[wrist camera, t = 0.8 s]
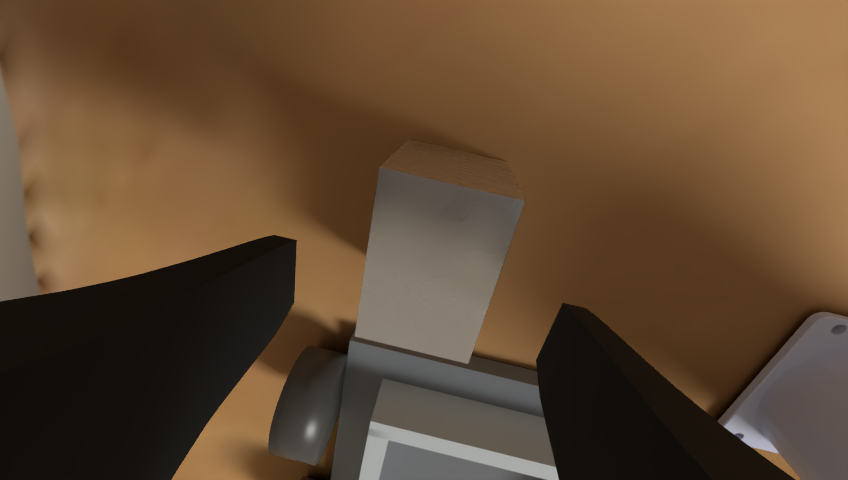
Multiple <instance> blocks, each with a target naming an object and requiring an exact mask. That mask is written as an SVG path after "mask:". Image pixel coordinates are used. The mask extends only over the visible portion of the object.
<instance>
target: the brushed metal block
mask: <svg viewBox="0 0 848 480" xmlns="http://www.w3.org/2000/svg"><path fill="white" fill-rule="evenodd" d="M524 204H525V199H524V197H523V195H522V193H521V190H520V188H519V186H518V184H517V182H516V180H515V177H514V175H513V173H512V171H511V169H510V167H509V164H508V162H507V161H503V160H499V159H494V158H490V157H485V156H481V155H477V154H472V153H468V152H464V151H459V150H455V149H451V148H446V147H442V146H438V145H433V144H429V143H425V142H420V141H416V140H411V139H408V140H407V141H406V142H405V143H404V144H403V145H402V146H401V147H400V148H399V149H398V150H396V151H395V152H394V153H393V154H392V155H391V156H390V157H389V158H388V159H387V160H386V161H385V162H384V163H383V164H382V165H381V166H380V167H379V172H378V179H377V186H376V193H375V200H374V207H373V214H372V220H371V227H370V234H369V241H368V248H367V255H366V262H365V269H364V276H363V282H362V289H361V296H360V303H359V310H358V317H357V324H356V331H355V337H359V338H364V339H368V340H372V341H376V342H380V343H384V344H388V345H392V346H396V347H400V348H405V349H409V350H413V351H417V352H421V353H425V354H429V355H433V356H437V357H441V358H446V359H450V360H454V361H458V362H462V363H466V364H468V363H469V360H470V357H471V354H472V351H473V349H474V346H475V343H476V340H477V337H478V334H479V332H480V329H481V326H482V323H483V320H484V317H485V315H486V312H487V309H488V306H489V303H490V300H491V297H492V295H493V292H494V289H495V286H496V283H497V280H498V278H499V275H500V272H501V269H502V266H503V263H504V260H505V258H506V255H507V252H508V249H509V246H510V243H511V241H512V238H513V235H514V232H515V229H516V226H517V223H518V221H519V218H520V215H521V212H522V209H523V206H524Z"/></svg>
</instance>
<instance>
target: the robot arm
mask: <svg viewBox="0 0 848 480" xmlns="http://www.w3.org/2000/svg"><path fill="white" fill-rule="evenodd" d="M296 242H297V240H293V239H289V238H285V237H281V236H276V235H272V236H268V237H264V238H260V239H257V240H253V241H250V242H247V243H243V244H240V245H237V246H234V247H231V248H228V249H225V250H221V251H218V252H215V253H212V254H209V255H206V256H202V257H199V258H196V259H193V260H189V261H186V262H182V263H179V264H175V265H171V266H168V267H164V268H161V269H157V270H154V271H150V272H147V273H143V274H139V275H135V276H131V277H127V278H123V279H118V280H114V281H110V282H105V283H100V284H96V285H91V286H86V287H82V288H77V289H72V290H67V291H61V292H55V293H49V294H43V295H37V296H31V297H26V298H19V299H13V300H7V301H1V302H0V480H171V479H172V477H173V476H174V474H175V473H176V471H177V469H178V468H179V466H180V465H181V463H182V461H183V460H184V458H185V457H186V455H187V454H188V452H189V451H190V449H191V447H192V446H193V444H194V443H195V441H196V440H197V438H198V437H199V435H200V433H201V432H202V430H203V429H204V427H205V426H206V424H207V423H208V421H209V420H210V419H211V417H212V416H213V415H214V413H215V412H216V410H217V409H218V408H219V406H220V405H221V404H222V402H223V401H224V400H225V399H226V397H227V396H228V395H229V393H230V392H231V391H232V390H233V388H234V387H235V386H236V384H237V383H238V382H239V381H240V379H241V378H242V377H243V375H244V374H245V373H246V372H247V370H248V369H249V368H250V367H251V365H252V364H253V363H254V361H255V360H256V359H257V358H258V356H259V355H260V354H261V352H262V351H263V350H264V348H265V347H266V346H267V345H268V343H269V342H270V341H271V339H272V338H273V337H274V335H275V334H276V333H277V331H278V329H279V328H280V326H281V324H282V323H283V321H284V319H285V317H286V316H287V314H288V312H289V310H290V309H291V307H292V305H293V303H294V291H295V266H296ZM536 365H537V377H538V387H539V396H540V401H541V405H542V410H543V414H544V419H545V423H546V427H547V432H548V436H549V440H550V444H551V448H552V453H553V457H554V461H555V465H556V470H557V474H558V478H559V480H795V479H794V478H792V477H791V476H790V475H788V474H787V473H785V472H784V471H783V470H781V469H780V468H778V467H777V466H776V465H774V464H773V463H771V462H770V461H769V460H767V459H766V458H765V457H763V456H762V455H761V454H759V453H758V452H757V451H755V450H754V449H753V448H751V447H754V448H758V449H762V450H766V451H770V452H775V453H779V454H780V455H781V456H782V457H783V458H784V460H785V461H786V462H787V463H788V464H789V466H790V467H791V468H792V469H793V470H794V472H795V473H796V474H797V475H798V476H799V478H800V479H801V480H848V317H846V316H842V315H838V314H833V313H829V312H819V313H815V314H813V315H811V316H810V317H808V318H807V319H806V320H805V322H804V323H803V324H802V325H801V326H800V327H799V328H798V330H797V331H796V332H795V333H794V334H793V335H792V336H791V338H790V339H789V340H788V341H787V342H786V343H785V344H784V346H783V347H782V348H781V349H780V350H779V351H778V352H777V354H776V355H775V356H774V357H773V358H772V359H771V360H770V362H769V363H768V364H767V365H766V366H765V367H764V368H763V370H762V371H761V372H760V373H759V374H758V375H757V376H756V378H755V379H754V380H753V381H752V382H751V383H750V384H749V386H748V387H747V388H746V389H745V390H744V391H743V392H742V394H741V395H740V396H739V397H738V398H737V399H736V400H735V402H734V403H733V404H732V405H731V406H730V407H729V408H728V410H727V411H726V412H725V413H724V414H723V415H722V416H721V418H720V419H719V420H718V421H716V420H715V419H713V418H712V417H711V416H710V415H708V414H707V413H706V412H705V411H703V410H702V409H701V408H700V407H699V406H697V405H696V404H695V403H694V402H693V401H691V400H690V399H689V398H688V397H687V396H686V395H684V394H683V393H682V392H681V391H680V390H678V389H677V388H676V387H675V386H674V385H672V384H671V383H670V382H669V381H668V380H667V379H666V378H664V377H663V376H662V375H661V374H660V373H659V372H658V371H657V370H655V369H654V368H653V367H652V366H651V365H650V364H649V363H648V362H646V361H645V360H644V359H643V358H642V357H641V356H640V355H639V354H638V353H637V352H635V351H634V350H633V349H632V348H631V347H630V346H629V345H628V344H627V343H626V342H625V341H623V340H622V339H621V338H620V337H619V336H618V335H617V334H616V333H615V332H614V331H612V330H611V329H610V328H609V327H608V326H607V325H606V324H605V323H603V322H602V321H601V320H600V319H599V318H598V317H596V316H595V315H594V314H593V313H591V312H590V311H589V310H587V309H586V308H582V307H578V306H574V305H569V304H565V303H563V304H562V306H561V308H560V310H559V312H558V314H557V317H556V319H555V321H554V323H553V325H552V327H551V329H550V332H549V334H548V336H547V338H546V340H545V342H544V344H543V347H542V349H541V351H540V353H539V355H538V357H537V359H536Z"/></svg>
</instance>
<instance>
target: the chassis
mask: <svg viewBox="0 0 848 480" xmlns="http://www.w3.org/2000/svg"><path fill="white" fill-rule="evenodd" d="M355 331H356V328H355V330H354V332H353V334H352V337H351V339H350V342H349V350H348V354H344V353H340V352H336V351H332V350H328V349H324V348H320V347H316V346H308V347H307V348H306V349H305V350H304V351H303V352H302V353H301V355H300V356H299V358H298V359H297V361H296V363H295V364H294V366H293V368H292V370H291V372H290V374H289V376H288V378H287V380H286V383H285V385H284V387H283V390H282V392H281V395H280V398H279V400H278V403H277V406H276V409H275V413H274V416H273V420H272V424H271V429H270V434H269V452H270V454H272V455H275V456H279V457H283V458H287V459H291V460H295V461H299V462H303V463H307V464H311V465H314V466H315V465H317V464H318V462H319V461H320V459H321V457H322V455H323V453H324V451H325V449H326V447H327V444H328V442H329V439H330V437H331V434H332V432H333V429H334V426H335V423H336V420H337V417H338V414H339V411H340V415H339V422H338V429H337V437H336V444H335V451H334V458H333V465H332V473H331V480H559V478H558V474H557V470H556V465H555V461H554V457H553V453H552V448H551V444H550V440H549V436H548V432H547V427H546V423H545V419H544V414H543V410H542V405H541V401H540V396H539V387H538V377H537V371H534V370H530V369H526V368H521V367H517V366H513V365H509V364H505V363H501V362H497V361H493V360H489V359H484V358H480V357H476V356H472V355H471V357H470V360H469V363H468V364H466V363H462V362H458V361H454V360H450V359H446V358H441V357H437V356H433V355H429V354H425V353H421V352H417V351H413V350H409V349H405V348H400V347H396V346H392V345H388V344H384V343H380V342H376V341H372V340H368V339H364V338H359V337H355ZM340 407H341V408H340ZM301 480H315V479H311V478H307V477H303V478H302V479H301Z"/></svg>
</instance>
